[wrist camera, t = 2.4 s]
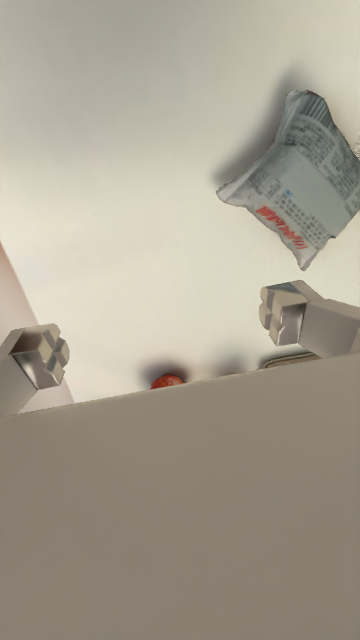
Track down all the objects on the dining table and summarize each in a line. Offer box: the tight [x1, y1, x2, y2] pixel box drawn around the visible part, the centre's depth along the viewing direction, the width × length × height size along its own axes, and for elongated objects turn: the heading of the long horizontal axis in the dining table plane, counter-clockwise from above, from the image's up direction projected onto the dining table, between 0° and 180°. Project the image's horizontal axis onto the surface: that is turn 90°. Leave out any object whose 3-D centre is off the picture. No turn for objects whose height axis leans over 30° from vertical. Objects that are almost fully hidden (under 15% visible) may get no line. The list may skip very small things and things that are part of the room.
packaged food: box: [216, 90, 360, 271], centre depth 21 cm, size 9×12×5 cm
